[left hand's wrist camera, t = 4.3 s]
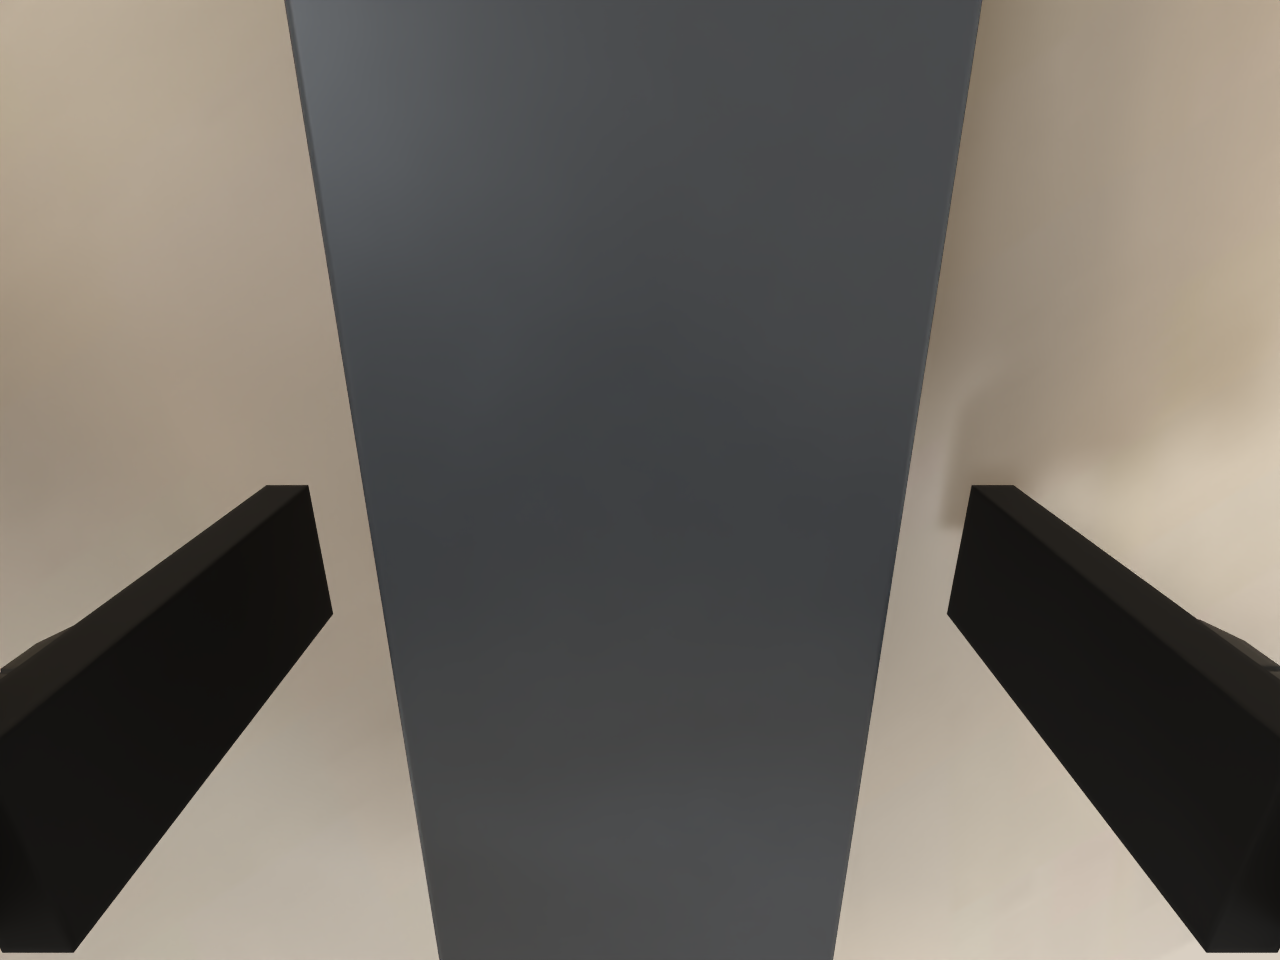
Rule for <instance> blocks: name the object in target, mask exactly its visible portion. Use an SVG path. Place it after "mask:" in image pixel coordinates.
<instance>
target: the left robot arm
mask: <svg viewBox="0 0 1280 960" xmlns="http://www.w3.org/2000/svg"><path fill="white" fill-rule="evenodd" d="M332 615H333V611H332V606H331V601H330V596H329V591H328V585H327V580H326V575H325V570H324V565H323V559H322V554H321V549H320V544H319V539H318V534H317V528H316V523H315V518H314V513H313V508H312V502H311V497H310V492H309V487H308V485H266V486H265V487H264V488H262V489H261V490H259V491H258V492H257V493H255V494H254V495H253V496H251V497H250V498H248V499H247V500H246V501H244V502H243V503H242V504H240V505H239V506H237V507H236V508H235V509H233V510H232V511H231V512H229V513H228V514H226V515H225V516H224V517H222V518H221V519H220V520H218V521H217V522H215V523H214V524H213V525H211V526H210V527H209V528H207V529H206V530H205V531H203V532H202V533H200V534H199V535H198V536H196V537H195V538H194V539H192V540H191V541H189V542H188V543H187V544H185V545H184V546H183V547H181V548H180V549H178V550H177V551H176V552H174V553H173V554H172V555H170V556H169V557H167V558H166V559H165V560H163V561H162V562H161V563H159V564H158V565H156V566H155V567H154V568H152V569H151V570H150V571H148V572H147V573H145V574H144V575H143V576H141V577H140V578H139V579H137V580H136V581H134V582H133V583H132V584H130V585H129V586H128V587H126V588H125V589H124V590H122V591H121V592H119V593H118V594H117V595H115V596H114V597H113V598H111V599H110V600H108V601H107V602H106V603H104V604H103V605H102V606H100V607H99V608H97V609H96V610H95V611H93V612H92V613H91V614H89V615H88V616H86V617H85V618H84V619H82V620H81V621H80V622H78V623H77V624H75V625H74V626H72V627H70V628H68V629H66V630H64V631H62V632H59V633H57V634H55V635H53V636H51V637H49V638H47V639H45V640H43V641H41V642H39V643H37V644H35V645H34V646H32V647H31V648H29V649H28V650H27V651H25V652H24V653H22V654H21V655H20V656H18V657H17V658H15V659H14V660H13V661H11V662H10V663H8V664H7V665H6V666H4V667H3V668H1V672H0V949H1V951H2V953H74V951H75V950H76V949H77V947H78V946H79V945H80V944H81V942H82V941H83V940H84V938H85V937H86V936H87V934H88V933H89V932H90V931H91V929H92V928H93V927H94V925H95V924H96V923H97V921H98V920H99V919H100V917H101V916H102V915H103V914H104V912H105V911H106V910H107V908H108V907H109V906H110V904H111V903H112V902H113V900H114V899H115V898H116V897H117V895H118V894H119V893H120V891H121V890H122V889H123V887H124V886H125V885H126V884H127V882H128V881H129V880H130V878H131V877H132V876H133V874H134V873H135V872H136V870H137V869H138V868H139V867H140V865H141V864H142V863H143V861H144V860H145V859H146V857H147V856H148V855H149V854H150V852H151V851H152V850H153V848H154V847H155V846H156V844H157V843H158V842H159V840H160V839H161V838H162V837H163V835H164V834H165V833H166V831H167V830H168V829H169V827H170V826H171V825H172V823H173V822H174V821H175V820H176V818H177V817H178V816H179V814H180V813H181V812H182V810H183V809H184V808H185V807H186V805H187V804H188V803H189V801H190V800H191V799H192V797H193V796H194V795H195V793H196V792H197V791H198V790H199V788H200V787H201V786H202V784H203V783H204V782H205V780H206V779H207V778H208V776H209V775H210V774H211V773H212V771H213V770H214V769H215V767H216V766H217V765H218V763H219V762H220V761H221V760H222V758H223V757H224V756H225V754H226V753H227V752H228V750H229V749H230V748H231V746H232V745H233V744H234V743H235V741H236V740H237V739H238V737H239V736H240V735H241V733H242V732H243V731H244V730H245V728H246V727H247V726H248V724H249V723H250V722H251V720H252V719H253V718H254V716H255V715H256V714H257V713H258V711H259V710H260V709H261V707H262V706H263V705H264V703H265V702H266V701H267V699H268V698H269V697H270V696H271V694H272V693H273V692H274V690H275V689H276V688H277V686H278V685H279V684H280V683H281V681H282V680H283V679H284V677H285V676H286V675H287V673H288V672H289V671H290V669H291V668H292V667H293V666H294V664H295V663H296V662H297V660H298V659H299V658H300V656H301V655H302V654H303V652H304V651H305V650H306V649H307V647H308V646H309V645H310V643H311V642H312V641H313V639H314V638H315V637H316V636H317V634H318V633H319V632H320V630H321V629H322V628H323V626H324V625H325V624H326V622H327V621H328V620H329V619H330V617H331V616H332ZM947 615H948V616H949V617H950V619H951V620H952V621H953V623H954V624H955V625H956V626H957V628H958V629H959V630H960V632H961V633H962V634H963V636H964V637H965V638H966V639H967V641H968V642H969V643H970V645H971V646H972V647H973V649H974V650H975V651H976V653H977V654H978V655H979V656H980V658H981V659H982V660H983V662H984V663H985V664H986V666H987V667H988V668H989V669H990V671H991V672H992V673H993V675H994V676H995V677H996V679H997V680H998V681H999V683H1000V684H1001V685H1002V686H1003V688H1004V689H1005V690H1006V692H1007V693H1008V694H1009V696H1010V697H1011V698H1012V700H1013V701H1014V702H1015V703H1016V705H1017V706H1018V707H1019V709H1020V710H1021V711H1022V713H1023V714H1024V715H1025V716H1026V718H1027V719H1028V720H1029V722H1030V723H1031V724H1032V726H1033V727H1034V728H1035V730H1036V731H1037V732H1038V733H1039V735H1040V736H1041V737H1042V739H1043V740H1044V741H1045V743H1046V744H1047V745H1048V747H1049V748H1050V749H1051V750H1052V752H1053V753H1054V754H1055V756H1056V757H1057V758H1058V760H1059V761H1060V762H1061V763H1062V765H1063V766H1064V767H1065V769H1066V770H1067V771H1068V773H1069V774H1070V775H1071V777H1072V778H1073V779H1074V780H1075V782H1076V783H1077V784H1078V786H1079V787H1080V788H1081V790H1082V791H1083V792H1084V793H1085V795H1086V796H1087V797H1088V799H1089V800H1090V801H1091V803H1092V804H1093V805H1094V807H1095V808H1096V809H1097V810H1098V812H1099V813H1100V814H1101V816H1102V817H1103V818H1104V820H1105V821H1106V822H1107V824H1108V825H1109V826H1110V827H1111V829H1112V830H1113V831H1114V833H1115V834H1116V835H1117V837H1118V838H1119V839H1120V840H1121V842H1122V843H1123V844H1124V846H1125V847H1126V848H1127V850H1128V851H1129V852H1130V854H1131V855H1132V856H1133V857H1134V859H1135V860H1136V861H1137V863H1138V864H1139V865H1140V867H1141V868H1142V869H1143V871H1144V872H1145V873H1146V874H1147V876H1148V877H1149V878H1150V880H1151V881H1152V882H1153V884H1154V885H1155V886H1156V887H1157V889H1158V890H1159V891H1160V893H1161V894H1162V895H1163V897H1164V898H1165V899H1166V901H1167V902H1168V903H1169V904H1170V906H1171V907H1172V908H1173V910H1174V911H1175V912H1176V914H1177V915H1178V916H1179V917H1180V919H1181V920H1182V921H1183V923H1184V924H1185V925H1186V927H1187V928H1188V929H1189V931H1190V932H1191V933H1192V934H1193V936H1194V937H1195V938H1196V940H1197V941H1198V942H1199V944H1200V945H1201V946H1202V948H1203V949H1204V950H1205V951H1206V952H1207V953H1277V952H1278V951H1279V949H1280V666H1279V665H1278V664H1276V663H1275V662H1274V661H1272V660H1271V659H1269V658H1268V657H1267V656H1265V655H1264V654H1262V653H1261V652H1259V651H1258V650H1257V649H1255V648H1254V647H1252V646H1251V645H1250V644H1248V643H1247V642H1245V641H1244V640H1241V639H1239V638H1237V637H1235V636H1233V635H1231V634H1229V633H1227V632H1225V631H1223V630H1221V629H1218V628H1216V627H1214V626H1212V625H1210V624H1208V623H1206V622H1204V621H1202V620H1198V619H1196V618H1195V617H1194V616H1192V615H1191V614H1189V613H1188V612H1187V611H1185V610H1184V609H1183V608H1181V607H1180V606H1178V605H1177V604H1176V603H1174V602H1173V601H1172V600H1170V599H1169V598H1167V597H1166V596H1165V595H1163V594H1162V593H1161V592H1159V591H1158V590H1156V589H1155V588H1154V587H1152V586H1151V585H1150V584H1148V583H1147V582H1145V581H1144V580H1143V579H1141V578H1140V577H1139V576H1137V575H1136V574H1135V573H1133V572H1132V571H1130V570H1129V569H1128V568H1126V567H1125V566H1124V565H1122V564H1121V563H1119V562H1118V561H1117V560H1115V559H1114V558H1113V557H1111V556H1110V555H1108V554H1107V553H1106V552H1104V551H1103V550H1102V549H1100V548H1099V547H1097V546H1096V545H1095V544H1093V543H1092V542H1091V541H1089V540H1088V539H1086V538H1085V537H1084V536H1082V535H1081V534H1080V533H1078V532H1077V531H1075V530H1074V529H1073V528H1071V527H1070V526H1069V525H1067V524H1066V523H1064V522H1063V521H1062V520H1060V519H1059V518H1058V517H1056V516H1055V515H1054V514H1052V513H1051V512H1049V511H1048V510H1047V509H1045V508H1044V507H1043V506H1041V505H1040V504H1038V503H1037V502H1036V501H1034V500H1033V499H1032V498H1030V497H1029V496H1027V495H1026V494H1025V493H1023V492H1022V491H1021V490H1019V489H1018V488H1016V487H1015V486H1014V485H972V487H971V492H970V497H969V502H968V507H967V513H966V518H965V523H964V528H963V533H962V539H961V544H960V549H959V554H958V559H957V565H956V570H955V575H954V580H953V585H952V590H951V596H950V601H949V606H948V611H947Z"/></svg>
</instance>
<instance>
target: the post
mask: <svg viewBox="0 0 1280 960" xmlns="http://www.w3.org/2000/svg"><path fill="white" fill-rule="evenodd" d="M284 1H285V7H286V13H287V19H288V26H289V32H290V38H291V44H292V50H293V57H294V63H295V69H296V75H297V81H298V88H299V94H300V100H301V106H302V112H303V118H304V125H305V131H306V137H307V143H308V149H309V156H310V162H311V168H312V174H313V180H314V187H315V193H316V199H317V205H318V211H319V217H320V224H321V230H322V236H323V242H324V248H325V255H326V261H327V267H328V273H329V279H330V285H331V292H332V298H333V304H334V310H335V316H336V323H337V329H338V335H339V341H340V347H341V354H342V360H343V366H344V372H345V378H346V384H347V391H348V397H349V403H350V409H351V415H352V422H353V428H354V434H355V440H356V446H357V452H358V459H359V465H360V471H361V477H362V483H363V490H364V496H365V502H366V508H367V514H368V521H369V527H370V533H371V539H372V545H373V551H374V558H375V564H376V570H377V576H378V582H379V589H380V595H381V601H382V607H383V613H384V619H385V626H386V632H387V638H388V644H389V650H390V657H391V663H392V669H393V675H394V681H395V688H396V694H397V700H398V706H399V712H400V718H401V725H402V731H403V737H404V743H405V749H406V756H407V762H408V768H409V774H410V780H411V786H412V793H413V799H414V805H415V811H416V817H417V824H418V830H419V836H420V842H421V848H422V855H423V861H424V867H425V873H426V879H427V885H428V892H429V898H430V904H431V910H432V916H433V923H434V929H435V935H436V941H437V947H438V954H439V960H833V956H834V950H835V943H836V937H837V930H838V924H839V917H840V911H841V905H842V898H843V892H844V885H845V879H846V872H847V866H848V860H849V853H850V847H851V840H852V834H853V827H854V821H855V815H856V808H857V802H858V795H859V789H860V782H861V776H862V770H863V763H864V757H865V750H866V744H867V737H868V731H869V725H870V718H871V712H872V705H873V699H874V692H875V686H876V680H877V673H878V667H879V660H880V654H881V647H882V641H883V635H884V628H885V622H886V615H887V609H888V602H889V596H890V590H891V583H892V577H893V570H894V564H895V557H896V551H897V545H898V538H899V532H900V525H901V519H902V512H903V506H904V500H905V493H906V487H907V480H908V474H909V467H910V461H911V455H912V448H913V442H914V435H915V429H916V422H917V416H918V410H919V403H920V397H921V390H922V384H923V377H924V371H925V365H926V358H927V352H928V345H929V339H930V332H931V326H932V320H933V313H934V307H935V300H936V294H937V287H938V281H939V275H940V268H941V262H942V255H943V249H944V242H945V236H946V230H947V223H948V217H949V210H950V204H951V197H952V191H953V185H954V178H955V172H956V165H957V159H958V152H959V146H960V140H961V133H962V127H963V120H964V114H965V107H966V101H967V95H968V88H969V82H970V75H971V69H972V62H973V56H974V50H975V43H976V37H977V30H978V24H979V17H980V11H981V5H982V0H284Z"/></svg>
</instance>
